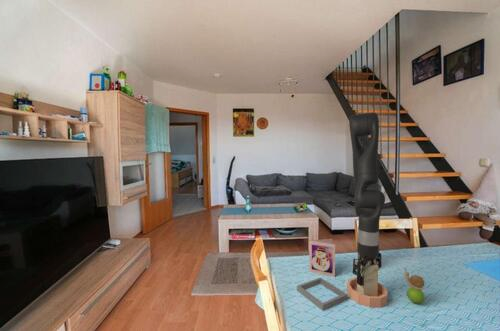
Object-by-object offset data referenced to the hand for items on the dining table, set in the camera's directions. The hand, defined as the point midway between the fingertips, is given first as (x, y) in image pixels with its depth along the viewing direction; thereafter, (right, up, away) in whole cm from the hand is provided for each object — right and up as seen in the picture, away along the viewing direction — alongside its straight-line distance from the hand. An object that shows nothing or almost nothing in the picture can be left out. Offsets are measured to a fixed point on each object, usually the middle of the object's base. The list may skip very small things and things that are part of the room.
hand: (367, 281), depth 93 cm
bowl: (0, -6, 0) cm, 6 cm away
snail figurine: (+16, -6, -4) cm, 17 cm away
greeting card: (-12, -5, +19) cm, 23 cm away
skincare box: (0, -5, 0) cm, 5 cm away
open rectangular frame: (-18, -6, +1) cm, 18 cm away
